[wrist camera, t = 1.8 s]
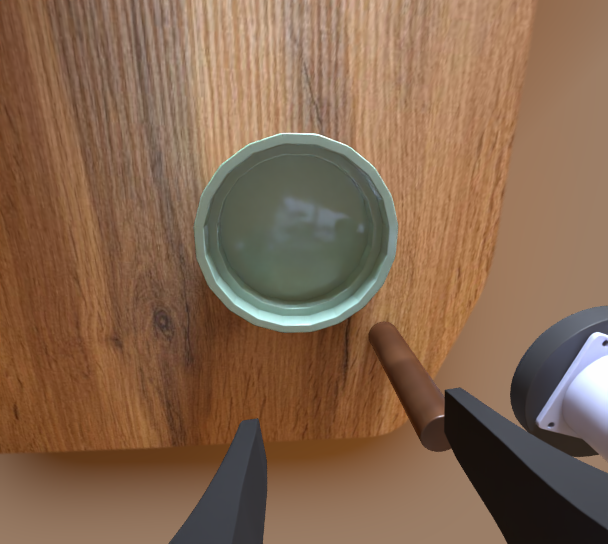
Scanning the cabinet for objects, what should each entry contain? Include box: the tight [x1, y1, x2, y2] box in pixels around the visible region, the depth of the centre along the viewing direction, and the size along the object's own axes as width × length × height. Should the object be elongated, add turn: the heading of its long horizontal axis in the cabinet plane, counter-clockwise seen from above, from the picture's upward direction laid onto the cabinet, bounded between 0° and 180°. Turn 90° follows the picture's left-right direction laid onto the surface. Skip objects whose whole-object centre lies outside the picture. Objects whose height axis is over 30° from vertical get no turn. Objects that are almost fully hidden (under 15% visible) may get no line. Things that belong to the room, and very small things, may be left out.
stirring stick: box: [369, 322, 451, 452], centre depth 20 cm, size 2×2×9 cm
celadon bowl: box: [194, 133, 398, 333], centre depth 20 cm, size 11×11×3 cm
